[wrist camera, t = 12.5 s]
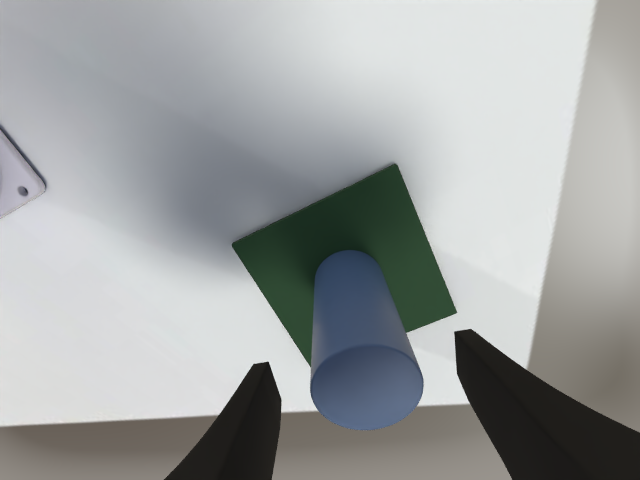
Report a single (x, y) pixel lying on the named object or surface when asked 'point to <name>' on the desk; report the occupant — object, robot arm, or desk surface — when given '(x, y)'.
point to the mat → (348, 234)
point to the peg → (360, 347)
